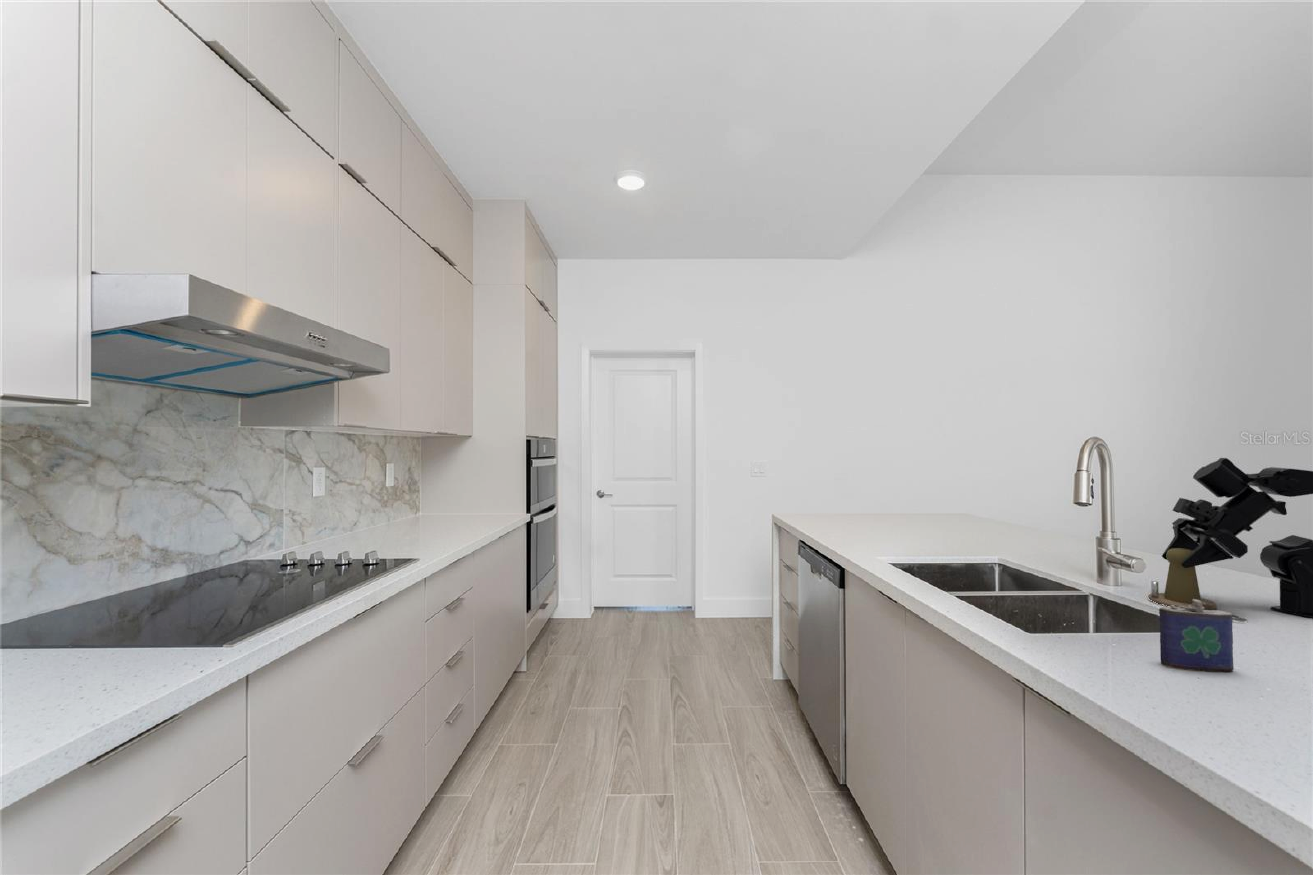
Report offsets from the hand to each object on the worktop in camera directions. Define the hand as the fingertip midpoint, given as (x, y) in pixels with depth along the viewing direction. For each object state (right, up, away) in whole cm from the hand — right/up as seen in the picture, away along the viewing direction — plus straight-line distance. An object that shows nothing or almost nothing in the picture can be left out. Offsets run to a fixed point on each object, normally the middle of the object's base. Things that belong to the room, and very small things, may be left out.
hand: (1172, 562), depth 126 cm
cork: (+1, -8, -1) cm, 8 cm away
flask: (-28, -9, -35) cm, 46 cm away
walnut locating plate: (+1, -9, -1) cm, 9 cm away
